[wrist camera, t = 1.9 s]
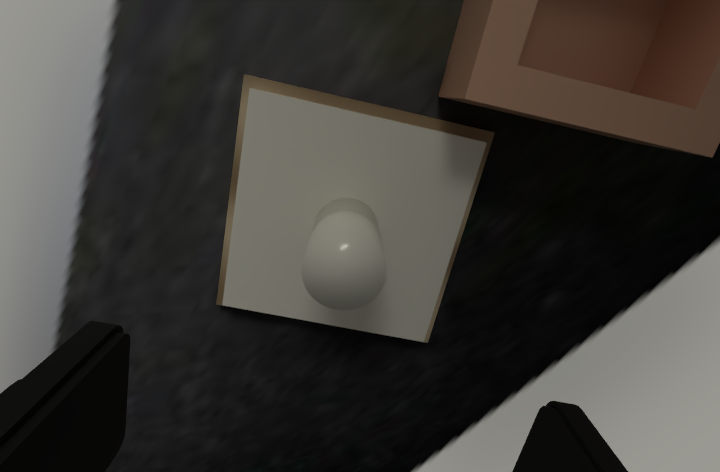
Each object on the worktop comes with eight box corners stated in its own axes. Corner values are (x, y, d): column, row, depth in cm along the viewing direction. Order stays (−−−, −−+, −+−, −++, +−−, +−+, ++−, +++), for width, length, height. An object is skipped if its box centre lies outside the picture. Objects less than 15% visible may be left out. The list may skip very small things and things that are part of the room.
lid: (253, 88, 19) (211, 87, 13) (481, 140, 20) (532, 160, 14) (226, 297, 23) (184, 367, 17) (421, 333, 23) (443, 411, 18)
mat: (247, 74, 19) (243, 74, 19) (490, 131, 20) (494, 132, 20) (219, 299, 23) (216, 304, 23) (425, 337, 24) (427, 342, 24)
